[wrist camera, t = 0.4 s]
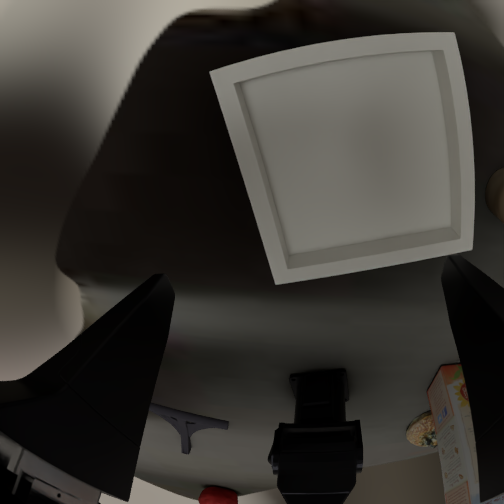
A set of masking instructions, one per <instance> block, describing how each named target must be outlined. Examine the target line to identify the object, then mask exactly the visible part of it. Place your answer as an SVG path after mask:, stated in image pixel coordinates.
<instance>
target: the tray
mask: <svg viewBox="0 0 504 504" xmlns="http://www.w3.org/2000/svg"><path fill="white" fill-rule="evenodd" d="M210 75H211V78H212V81H213V85H214V88H215V91H216V94H217V97H218V100H219V103H220V106H221V109H222V113H223V116H224V119H225V122H226V125H227V128H228V132H229V135H230V138H231V141H232V144H233V147H234V151H235V154H236V157H237V160H238V163H239V167H240V170H241V173H242V176H243V179H244V183H245V186H246V189H247V192H248V195H249V199H250V202H251V205H252V208H253V212H254V215H255V218H256V222H257V225H258V228H259V231H260V235H261V238H262V241H263V244H264V248H265V251H266V254H267V258H268V261H269V264H270V268H271V271H272V274H273V278H274V281H275V284H276V285H278V284H284V283H291V282H297V281H304V280H310V279H316V278H322V277H328V276H335V275H341V274H346V273H352V272H358V271H364V270H370V269H375V268H381V267H386V266H392V265H397V264H403V263H408V262H413V261H419V260H424V259H429V258H434V257H439V256H444V255H449V254H454V253H459V252H464V251H469V250H472V247H473V233H474V208H475V177H474V153H473V139H472V128H471V119H470V111H469V103H468V96H467V90H466V84H465V78H464V73H463V68H462V63H461V58H460V54H459V49H458V45H457V41H456V37H455V33H452V32H427V33H402V34H388V35H376V36H367V37H358V38H351V39H343V40H337V41H331V42H325V43H319V44H314V45H308V46H303V47H298V48H294V49H289V50H285V51H280V52H276V53H272V54H268V55H264V56H260V57H257V58H253V59H249V60H246V61H242V62H239V63H235V64H232V65H229V66H226V67H222V68H219V69H216V70H213V71H210Z"/></svg>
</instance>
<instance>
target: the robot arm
mask: <svg viewBox="0 0 504 504" xmlns="http://www.w3.org/2000/svg"><path fill="white" fill-rule="evenodd" d="M441 281H442V287H443V291H444V296H445V300H446V305H447V310H448V316H449V321H450V325H451V329H452V332H453V336H454V339H455V343H456V347H457V351H458V355H459V358H460V363H461V367H462V371H463V375H464V380H465V384H466V389H467V394H468V399H469V405H470V410H471V416H472V422H473V429H474V436H475V442H476V443H475V445H476V454H477V464H478V476H479V495H480V503H483V502H485V501H488V500H491V499H494V498H496V497H499V496H501V495H504V288H503V287H501V286H500V285H499V284H498V283H496V282H495V281H494V280H492V279H491V278H490V277H489V276H487V275H486V274H485V273H483V272H482V271H481V270H479V269H478V268H477V267H475V266H474V265H473V264H471V263H470V262H468V261H467V260H466V259H464V258H463V257H462V256H460V255H458V254H454V255H448V256H447V257H446V259H445V263H444V267H443V272H442V276H441ZM174 300H175V293H174V290H173V288H172V285H171V283H170V281H169V279H168V276H167V275H166V274H154V275H152V276H151V277H150V278H149V279H147V280H146V281H145V282H144V283H142V284H141V285H140V286H139V287H137V288H136V289H135V290H134V291H132V292H131V293H130V294H129V295H127V296H126V297H125V298H124V299H122V300H121V301H120V302H119V303H117V304H116V305H115V306H114V307H113V308H111V309H110V310H109V311H108V312H106V313H105V314H104V315H103V316H102V317H100V318H99V319H98V320H97V321H96V322H94V323H93V324H92V325H91V326H90V327H88V328H87V329H86V330H85V331H84V332H82V334H80V335H79V336H78V337H76V338H75V339H74V340H73V341H72V342H70V343H69V344H68V345H67V346H66V347H65V348H63V349H62V350H61V351H59V352H58V353H57V354H55V355H54V356H53V357H51V358H50V359H49V360H47V361H46V362H45V363H43V364H42V365H41V366H39V367H38V368H37V369H35V370H34V371H33V372H32V373H30V374H28V375H27V376H25V377H23V378H21V379H18V380H13V381H0V504H100V503H99V499H100V495H101V493H104V494H107V495H109V496H112V497H115V498H118V499H120V500H123V501H126V502H128V501H129V498H130V493H131V488H132V483H133V477H134V473H135V469H136V464H137V459H138V455H139V450H140V445H141V441H142V437H143V432H144V428H145V424H146V420H147V416H148V411H149V407H150V403H151V399H152V395H153V392H154V388H155V384H156V380H157V376H158V372H159V369H160V365H161V361H162V358H163V354H164V350H165V347H166V343H167V339H168V335H169V330H170V324H171V318H172V312H173V306H174ZM289 381H290V384H291V387H292V390H293V393H294V396H295V398H296V405H295V418H294V423H279V428H278V429H277V430H275V435H274V441H273V445H272V448H271V450H270V453H269V456H268V462H269V463H270V464H271V465H272V469H273V474H274V475H278V478H277V486H278V489H279V490H280V492H281V494H282V496H283V498H284V499H285V501H286V503H287V504H343V503H344V501H345V500H346V499H347V497H348V496H349V494H350V492H351V491H352V489H353V488H354V486H355V484H356V473H361V471H362V466H363V443H362V434H361V426H360V420H355V421H346V412H345V402H347V401H349V393H348V383H347V375H346V370H345V369H338V370H331V371H323V372H314V373H305V374H294V375H290V377H289Z"/></svg>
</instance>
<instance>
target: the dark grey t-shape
mask: <svg viewBox="0 0 504 504" xmlns="http://www.w3.org/2000/svg"><path fill="white" fill-rule="evenodd" d="M149 411H152V412H154V413H155V414H157V415H159V416H160V417H162V418H163V419H165V420H166V421H168V422H169V423H170V424H171V425H172V426H173V427H174V428H175V429H176V430H177V431H178V432H179V434H180V435H181V444H182V453H184V454H189V453H190V451H191V442H190V437H191V435H192V434H193V433H194V432H196V431H198V430H201V429H206V428H220V429H225V430H227V429H228V423H229V421H224V420H219V419H214V418H210V417H205V416H201V415H196V414H192V413H188V412H184V411H180V410H176V409H172V408H168V407H165V406H161V405H157V404H154V403H150V407H149ZM175 418H176V419H175ZM187 421H189V422H187ZM190 422H193V423H190Z"/></svg>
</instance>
